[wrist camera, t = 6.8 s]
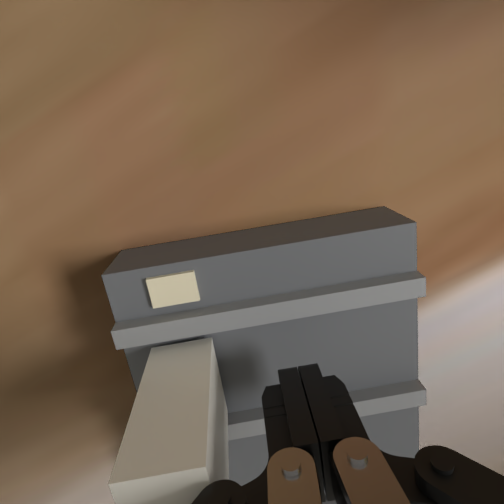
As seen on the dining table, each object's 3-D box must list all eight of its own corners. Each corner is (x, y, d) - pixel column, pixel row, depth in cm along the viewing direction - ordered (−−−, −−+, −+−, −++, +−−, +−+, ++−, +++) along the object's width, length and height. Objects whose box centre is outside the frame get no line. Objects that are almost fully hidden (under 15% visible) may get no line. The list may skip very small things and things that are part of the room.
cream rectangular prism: (211, 337, 15) (205, 466, 9) (227, 410, 16) (230, 565, 10) (151, 347, 15) (108, 484, 9) (171, 420, 16) (143, 581, 10)
